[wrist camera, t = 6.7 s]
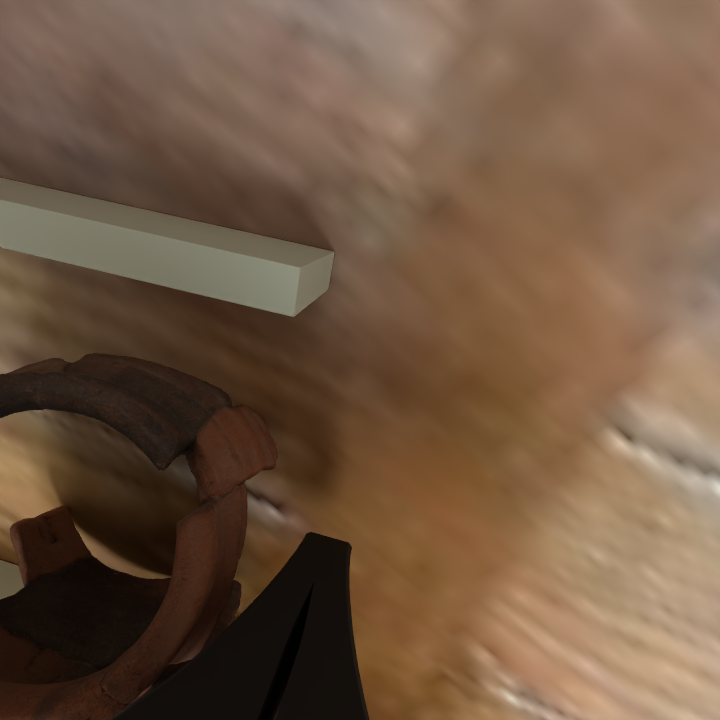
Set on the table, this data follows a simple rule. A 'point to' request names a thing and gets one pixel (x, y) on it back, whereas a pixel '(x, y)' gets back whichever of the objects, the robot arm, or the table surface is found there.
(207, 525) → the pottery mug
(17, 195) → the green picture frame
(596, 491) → the table surface
